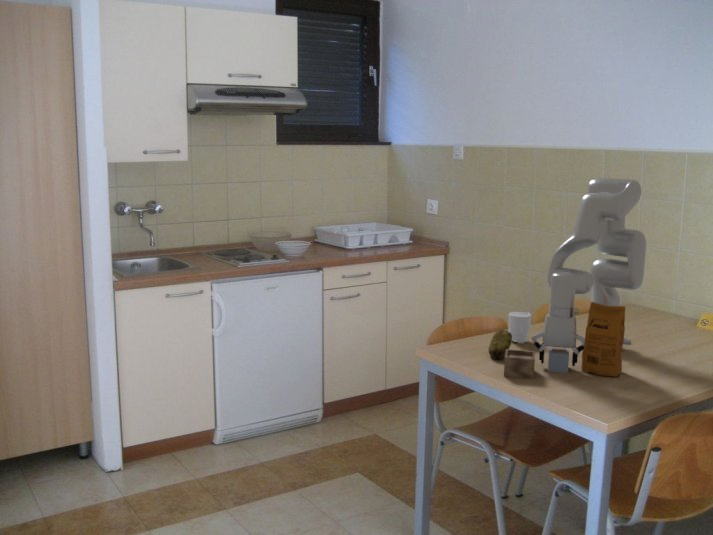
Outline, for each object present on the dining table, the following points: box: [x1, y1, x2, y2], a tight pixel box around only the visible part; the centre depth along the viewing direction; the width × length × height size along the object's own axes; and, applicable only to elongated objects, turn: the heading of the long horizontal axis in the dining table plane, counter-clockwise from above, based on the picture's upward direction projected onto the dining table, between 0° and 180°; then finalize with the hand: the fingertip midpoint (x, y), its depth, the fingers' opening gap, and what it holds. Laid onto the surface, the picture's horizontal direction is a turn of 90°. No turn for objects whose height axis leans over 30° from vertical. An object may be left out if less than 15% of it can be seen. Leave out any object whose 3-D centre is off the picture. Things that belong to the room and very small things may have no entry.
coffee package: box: [580, 301, 626, 378], centre depth 234 cm, size 10×12×22 cm
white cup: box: [508, 311, 532, 344], centre depth 269 cm, size 8×8×10 cm
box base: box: [503, 348, 536, 380], centre depth 232 cm, size 9×9×6 cm
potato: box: [488, 329, 513, 360], centre depth 251 cm, size 8×13×8 cm, turn 140°
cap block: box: [547, 347, 570, 374], centre depth 237 cm, size 6×6×6 cm
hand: (557, 363), depth 238 cm, fingers open, 9 cm apart
